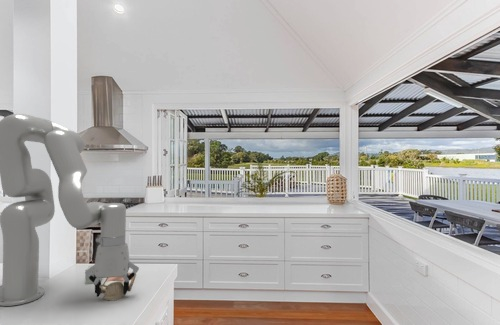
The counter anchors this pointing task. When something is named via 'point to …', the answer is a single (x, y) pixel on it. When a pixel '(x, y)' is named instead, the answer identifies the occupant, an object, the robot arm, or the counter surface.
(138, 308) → the counter surface
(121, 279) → the brown framed panel
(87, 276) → the die
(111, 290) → the decorative ornament
